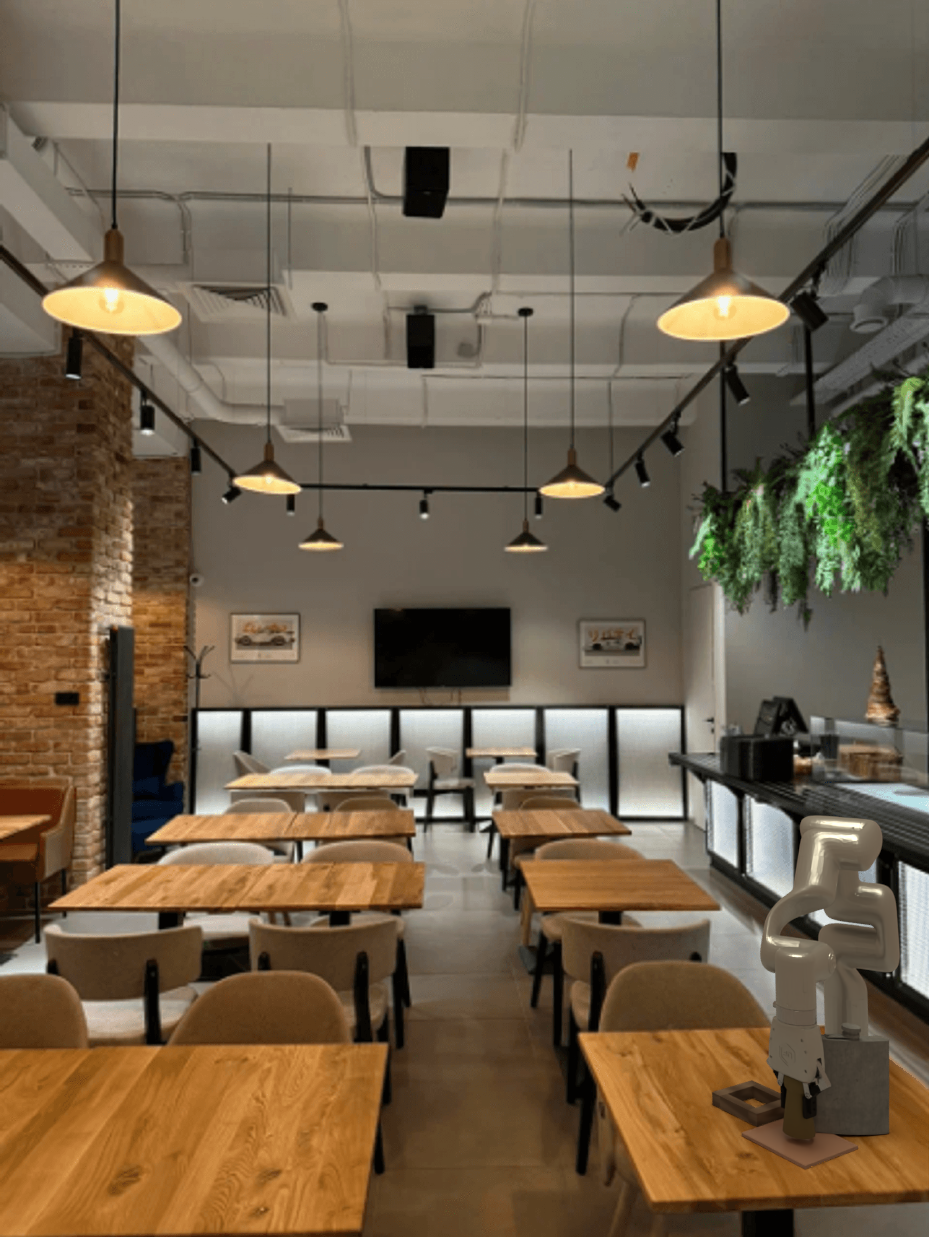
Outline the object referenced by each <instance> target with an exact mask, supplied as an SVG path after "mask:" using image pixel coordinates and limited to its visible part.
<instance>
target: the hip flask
mask: <svg viewBox="0 0 929 1237" xmlns="http://www.w3.org/2000/svg"><path fill="white" fill-rule="evenodd" d="M841 1029H842V1030H844V1031H842V1034H825V1033H824V1034H822V1033H821V1036H822V1042H823V1049H824V1061H825V1073H826V1075H827V1077H828V1079H829V1081H830V1083H831V1087H830V1088H827V1089H825V1090H823V1091H822V1092H821V1093H820V1094H819V1095H818V1096H816V1099H817V1115H816V1116H815V1117H813V1121H814V1127H815V1132H820V1133H830V1134H835V1135H847V1136H848V1135H849V1136H850V1135H854V1136H860V1135H861V1136H865V1135H866V1136H871V1135H872V1136H873V1135H887V1134H889V1133H890V1039H889V1037H885V1036H882V1035H869V1036H860V1034H859V1033H860V1032H861V1027H860V1026H858V1025H855V1024H850V1023H843V1024H842V1025H841ZM817 1082H818V1084H819V1079H817Z"/></svg>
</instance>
